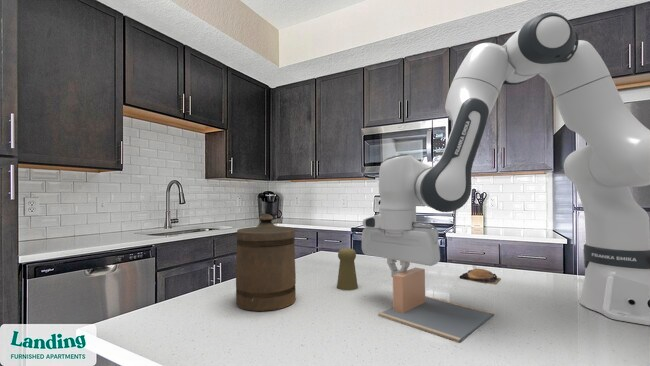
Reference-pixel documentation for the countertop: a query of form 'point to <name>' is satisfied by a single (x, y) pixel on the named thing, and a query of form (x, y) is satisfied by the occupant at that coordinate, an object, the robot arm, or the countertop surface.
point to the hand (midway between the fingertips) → (398, 278)
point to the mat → (441, 318)
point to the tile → (408, 289)
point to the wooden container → (265, 266)
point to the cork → (347, 270)
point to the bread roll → (480, 276)
